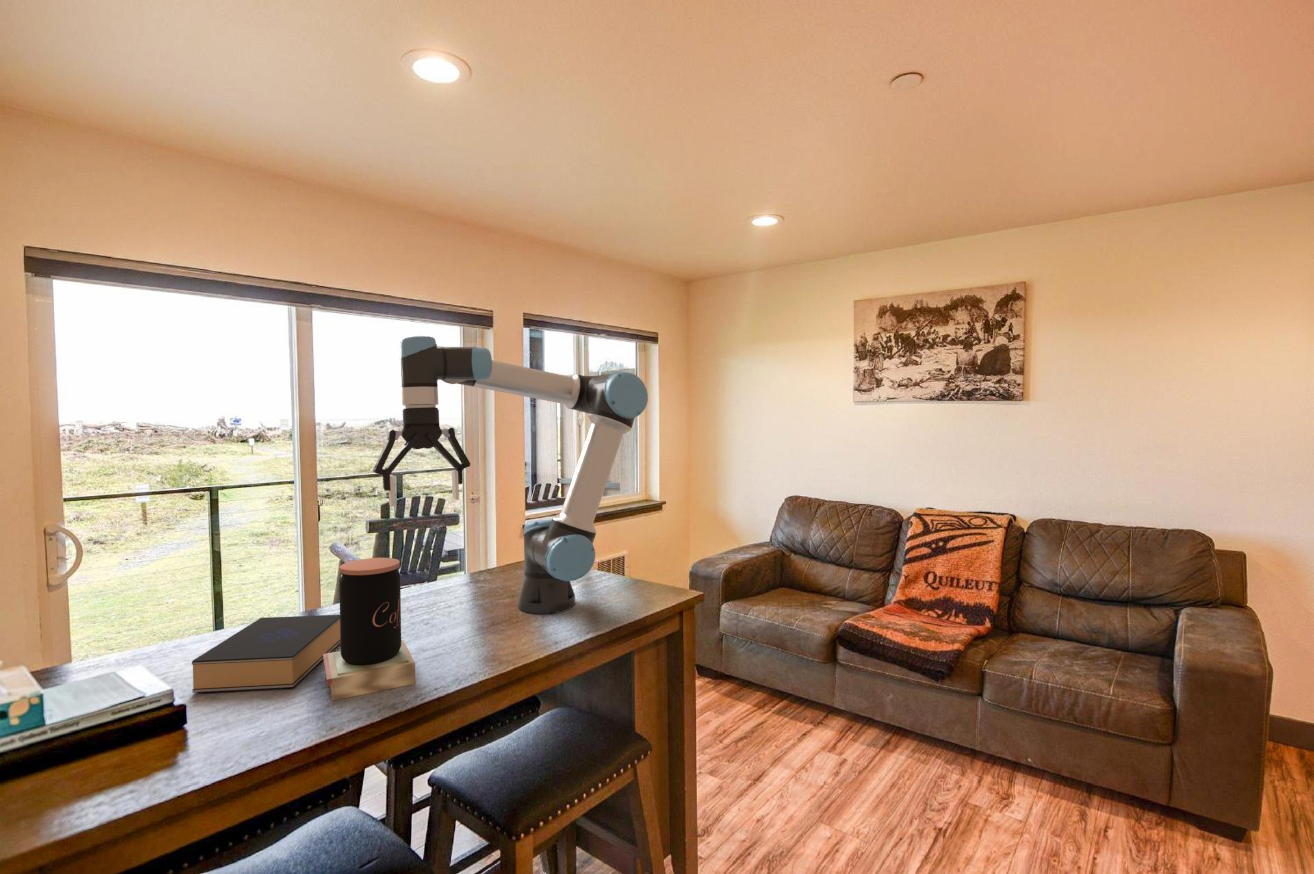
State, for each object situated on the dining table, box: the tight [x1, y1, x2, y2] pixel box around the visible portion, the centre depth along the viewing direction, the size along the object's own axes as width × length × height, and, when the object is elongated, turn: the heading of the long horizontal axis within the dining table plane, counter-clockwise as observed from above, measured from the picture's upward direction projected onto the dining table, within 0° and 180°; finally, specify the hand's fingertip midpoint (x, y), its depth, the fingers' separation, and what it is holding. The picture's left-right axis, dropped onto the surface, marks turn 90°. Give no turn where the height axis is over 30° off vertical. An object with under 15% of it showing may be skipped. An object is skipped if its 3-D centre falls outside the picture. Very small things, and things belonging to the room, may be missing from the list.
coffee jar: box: [338, 557, 402, 665], centre depth 120 cm, size 11×11×18 cm
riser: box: [322, 639, 416, 702], centre depth 120 cm, size 15×14×4 cm
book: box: [191, 614, 340, 694], centre depth 127 cm, size 17×25×7 cm
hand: (424, 502), depth 139 cm, fingers open, 13 cm apart
